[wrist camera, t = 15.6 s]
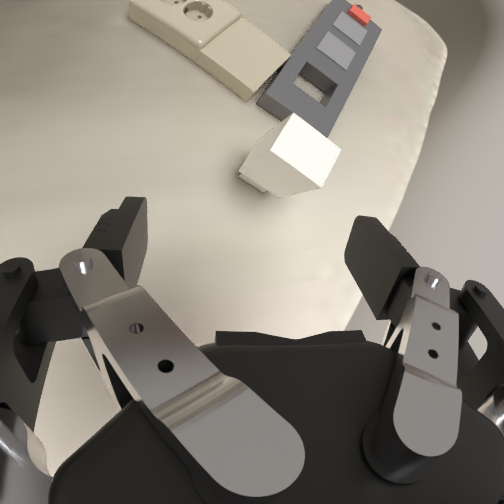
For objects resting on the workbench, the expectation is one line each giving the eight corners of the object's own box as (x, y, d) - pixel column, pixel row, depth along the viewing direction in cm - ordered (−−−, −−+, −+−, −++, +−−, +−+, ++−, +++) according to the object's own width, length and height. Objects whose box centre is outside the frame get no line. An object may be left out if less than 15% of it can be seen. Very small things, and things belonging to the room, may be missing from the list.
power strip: (256, 103, 32) (268, 90, 29) (336, -6, 35) (348, -19, 31) (314, 144, 35) (331, 135, 31) (376, 25, 37) (391, 15, 34)
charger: (229, 177, 32) (269, 150, 21) (246, 149, 32) (293, 112, 21) (265, 201, 33) (321, 187, 22) (282, 173, 34) (341, 149, 23)
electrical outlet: (257, 88, 28) (127, -1, 23) (245, 103, 32) (127, 19, 27) (295, 51, 29) (173, -31, 24) (280, 66, 33) (169, -11, 28)
